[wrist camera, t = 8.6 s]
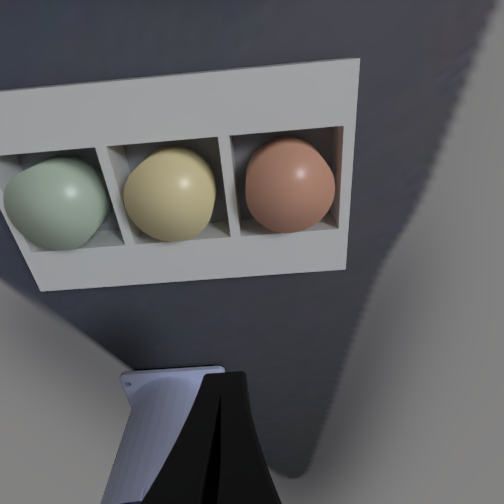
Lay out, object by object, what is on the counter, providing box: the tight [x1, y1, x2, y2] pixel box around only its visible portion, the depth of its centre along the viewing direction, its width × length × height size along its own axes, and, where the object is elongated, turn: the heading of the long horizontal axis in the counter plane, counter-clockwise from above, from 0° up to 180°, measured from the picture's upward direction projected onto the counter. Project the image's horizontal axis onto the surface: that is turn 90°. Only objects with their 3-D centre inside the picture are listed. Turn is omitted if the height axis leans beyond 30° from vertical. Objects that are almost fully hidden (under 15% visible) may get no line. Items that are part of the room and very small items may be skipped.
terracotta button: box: [245, 136, 335, 233], centre depth 16 cm, size 4×4×2 cm
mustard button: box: [124, 146, 217, 242], centre depth 16 cm, size 4×4×2 cm
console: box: [0, 58, 360, 291], centre depth 17 cm, size 10×17×3 cm, turn 95°
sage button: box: [3, 155, 113, 250], centre depth 17 cm, size 4×4×2 cm
